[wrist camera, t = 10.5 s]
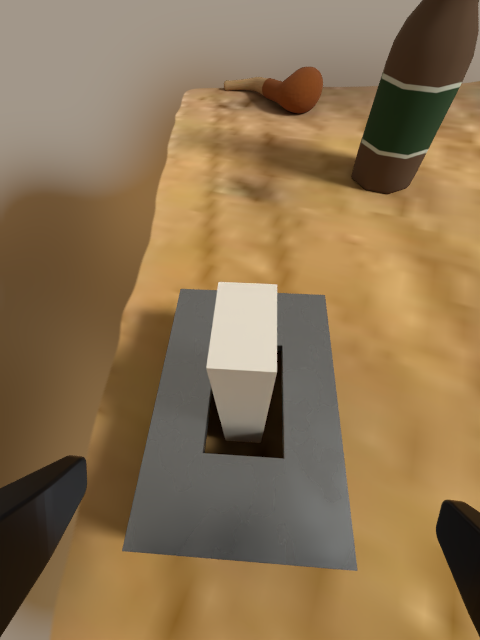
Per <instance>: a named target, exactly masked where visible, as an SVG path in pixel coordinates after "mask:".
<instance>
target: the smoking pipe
mask: <svg viewBox="0 0 480 640" xmlns="http://www.w3.org/2000/svg"><path fill="white" fill-rule="evenodd" d="M322 87H323V79H322V75H321V73H320V72H319V71H318V70H317V69H316V68H314V67H302V68H300V69H298V70H297V71H296V72H294V73H293V74H292V75H291V76H289V77H288V78H287V79H286V80H284V81H283V82H281V81H278V80H275V79H271V78H268V79H267V78H262V77H255V78H249V79H242V80H233V81H228V80H226V81H225V82H224V89H225V91H231V90H253V91H257V92H259V93H261V94H262V95H263V96H264V97H266V98H268V99H270V100H272V101H275V102H277V103H278V104H280V105H281V106H282V107H283V108H284V109H286V110H288V111H290V112H293V113H305V112H307V111H309V110H311V109H312V108H313V107H314V106H315V104H316V103H317V102H318V100H319V98H320V95H321V92H322Z"/></svg>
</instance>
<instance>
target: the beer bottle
mask: <svg viewBox="0 0 480 640" xmlns="http://www.w3.org/2000/svg"><path fill="white" fill-rule="evenodd" d="M478 2H479V0H422V2H421V3H420V4H419V5H418V6H417V7H416V9H415V10H414V11H413V12H412V13H411V15H410V16H409V17H408V18H407V20H406V21H405V23H404V25H403V27H402V28H401V30H400V31H399V33H398V35H397V36H396V38H395V40H394V42H393V45H392V48H391V51H390V53H389V56H388V59H387V61H386V64H385V67H384V70H383V73H382V77H381V80H380V83H379V86H378V89H377V92H376V96H375V99H374V102H373V105H372V108H371V111H370V115H369V118H368V121H367V124H366V127H365V130H364V134H363V137H362V140H361V143H360V146H359V150H358V153H357V157H356V161H355V164H354V168H353V172H352V179H353V180H354V181H356V182H357V183H358V184H359V185H360V186H362V187H363V188H364V189H365V190H369V191H374V192H380V193H385V194H390V193H393V192H396V191H399V190H402V189H405V188H407V187H408V186H409V185H410V183H411V181H412V179H413V178H414V176H415V174H416V172H417V170H418V168H419V166H420V164H421V163H422V161H423V159H424V157H425V155H426V153H427V151H428V149H429V147H430V145H431V143H432V141H433V139H434V137H435V135H436V133H437V131H438V129H439V127H440V125H441V123H442V121H443V119H444V117H445V115H446V113H447V111H448V109H449V107H450V105H451V103H452V101H453V99H454V97H455V95H456V93H457V91H458V89H459V87H460V85H461V84H462V81H463V79H464V77H465V74H466V72H467V70H468V68H469V65H470V63H471V61H472V58H473V56H474V51H475V46H476V41H477V36H478Z"/></svg>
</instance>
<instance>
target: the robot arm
mask: <svg viewBox="0 0 480 640" xmlns="http://www.w3.org/2000/svg"><path fill="white" fill-rule="evenodd" d="M86 488H87V470H86V460H85V458H84V457H81V456H73V455H69V456H66V457H64V458H62V459H60V460H58V461H56V462H54V463H52V464H50V465H47V466H46V467H43V468H42V469H40V470H37V471H35V472H33V473H31V474H29V475H27V476H25V477H23V478H21V479H19V480H17V481H15V482H13V483H11V484H8V485H6V486H4V487H2V488H0V637H1V635H2V634H3V632H4V631H5V629H6V628H7V626H8V624H9V623H10V621H11V620H12V618H13V617H14V615H15V613H16V612H17V610H18V609H19V607H20V606H21V604H22V603H23V601H24V599H25V598H26V596H27V595H28V593H29V591H30V589H31V588H32V587H33V585H34V584H35V582H36V580H37V579H38V577H39V576H40V574H41V573H42V571H43V570H44V568H45V566H46V564H47V563H48V561H49V560H50V558H51V556H52V554H53V553H54V551H55V549H56V547H57V545H58V543H59V541H60V539H61V538H62V536H63V534H64V532H65V530H66V528H67V526H68V524H69V522H70V521H71V519H72V517H73V515H74V513H75V511H76V509H77V507H78V505H79V503H80V502H81V500H82V498H83V496H84V494H85V491H86ZM436 534H437V538H438V541H439V543H440V546H441V548H442V551H443V553H444V556H445V558H446V560H447V563H448V565H449V568H450V570H451V573H452V575H453V577H454V580H455V582H456V585H457V587H458V590H459V592H460V594H461V597H462V599H463V602H464V604H465V606H466V609H467V611H468V613H469V615H470V618H471V620H472V622H473V624H474V626H475V628H476V630H477V632H478V634H479V636H480V512H478V511H477V510H475V509H474V508H472V507H471V506H469V505H468V504H466V503H465V502H462V501H455V500H445V501H444V502H443V503H442V505H441V509H440V513H439V517H438V521H437V525H436Z"/></svg>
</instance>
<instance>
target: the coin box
mask: <svg viewBox="0 0 480 640" xmlns="http://www.w3.org/2000/svg"><path fill="white" fill-rule="evenodd" d="M216 297H217V290H195V289H181V290H180V294H179V299H178V303H177V308H176V312H175V317H174V321H173V326H172V330H171V335H170V339H169V344H168V348H167V353H166V357H165V361H164V366H163V370H162V375H161V379H160V384H159V388H158V393H157V397H156V402H155V406H154V411H153V415H152V420H151V424H150V428H149V433H148V437H147V442H146V446H145V451H144V455H143V460H142V464H141V469H140V473H139V478H138V482H137V486H136V491H135V495H134V500H133V504H132V509H131V513H130V518H129V522H128V527H127V531H126V536H125V540H124V545H123V549H122V551H128V552H140V553H152V554H164V555H176V556H188V557H200V558H211V559H223V560H235V561H247V562H259V563H271V564H282V565H294V566H306V567H318V568H330V569H342V570H354V571H357V563H356V555H355V546H354V538H353V529H352V521H351V512H350V504H349V495H348V487H347V478H346V470H345V461H344V453H343V444H342V436H341V428H340V419H339V411H338V402H337V394H336V385H335V377H334V368H333V360H332V351H331V343H330V334H329V326H328V317H327V309H326V300H325V295H310V294H287V293H277V351H281V369H282V443H283V459H282V458H268V457H253V456H238V455H224V454H209V453H205V445H206V437H207V429H208V420H209V412H210V404H211V395H212V388H211V384H210V380H209V377H208V373H207V369H206V366H207V359H208V352H209V345H210V338H211V331H212V324H213V317H214V310H215V304H216Z"/></svg>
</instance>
